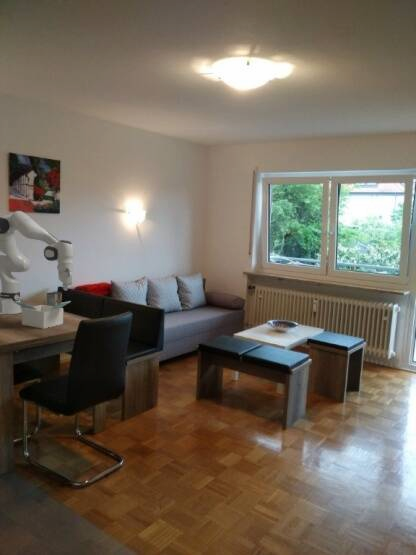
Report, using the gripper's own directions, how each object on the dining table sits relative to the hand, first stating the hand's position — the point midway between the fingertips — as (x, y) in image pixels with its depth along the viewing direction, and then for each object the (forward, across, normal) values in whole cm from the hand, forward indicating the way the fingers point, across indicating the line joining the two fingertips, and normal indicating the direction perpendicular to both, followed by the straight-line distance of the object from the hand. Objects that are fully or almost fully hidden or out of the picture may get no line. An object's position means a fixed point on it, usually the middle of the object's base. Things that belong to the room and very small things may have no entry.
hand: (65, 290), depth 269 cm
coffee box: (+24, +33, 0) cm, 40 cm away
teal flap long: (+12, +8, +19) cm, 23 cm away
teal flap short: (+12, +4, +5) cm, 14 cm away
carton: (+23, +10, +11) cm, 27 cm away
